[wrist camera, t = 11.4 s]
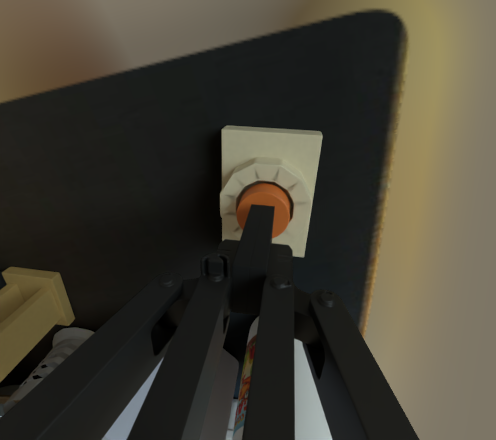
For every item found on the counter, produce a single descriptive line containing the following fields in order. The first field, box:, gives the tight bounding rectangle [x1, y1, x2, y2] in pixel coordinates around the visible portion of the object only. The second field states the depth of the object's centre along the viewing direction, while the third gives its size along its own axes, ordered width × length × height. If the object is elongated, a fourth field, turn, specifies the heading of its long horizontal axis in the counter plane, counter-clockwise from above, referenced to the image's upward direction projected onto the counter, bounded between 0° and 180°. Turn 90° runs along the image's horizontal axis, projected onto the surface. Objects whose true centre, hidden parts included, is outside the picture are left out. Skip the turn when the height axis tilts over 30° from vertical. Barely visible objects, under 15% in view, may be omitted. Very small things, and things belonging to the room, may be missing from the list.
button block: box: [220, 126, 323, 257], centre depth 22 cm, size 10×7×4 cm
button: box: [236, 183, 290, 238], centre depth 20 cm, size 4×4×2 cm
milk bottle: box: [232, 316, 332, 440], centre depth 22 cm, size 8×8×20 cm
